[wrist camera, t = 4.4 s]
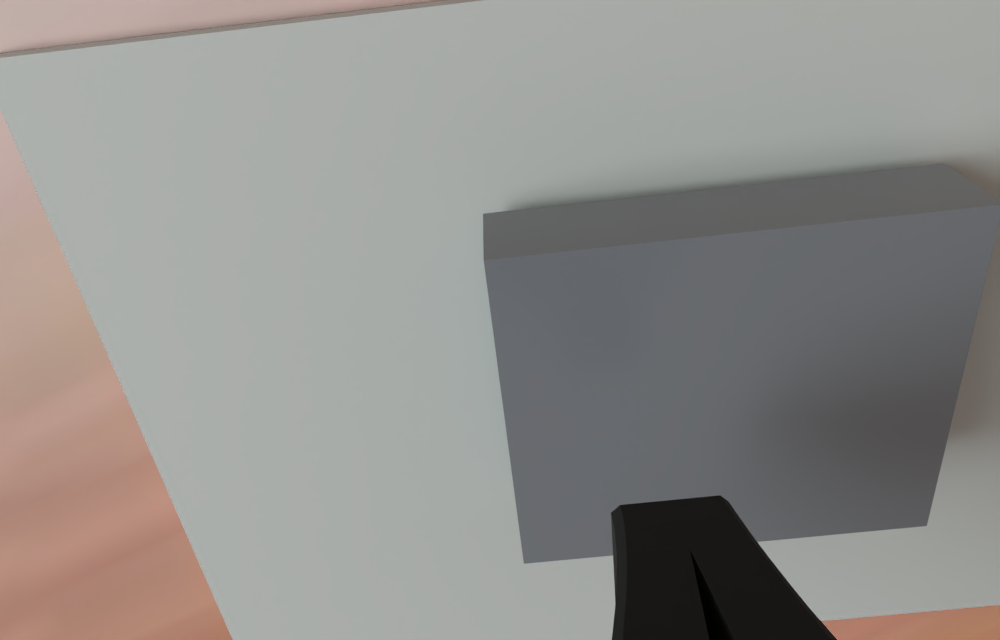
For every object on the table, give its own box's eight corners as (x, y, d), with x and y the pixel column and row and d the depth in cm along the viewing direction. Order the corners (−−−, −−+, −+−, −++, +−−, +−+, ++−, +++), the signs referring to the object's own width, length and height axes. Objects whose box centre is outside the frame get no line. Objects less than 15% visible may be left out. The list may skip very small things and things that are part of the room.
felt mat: (251, 657, 19) (247, 672, 18) (-7, 54, 12) (-21, 60, 11) (1110, 579, 18) (1122, 593, 18) (1406, -115, 11) (1436, -114, 10)
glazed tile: (523, 563, 14) (927, 526, 14) (483, 260, 11) (1003, 204, 11) (518, 484, 16) (876, 450, 15) (482, 203, 12) (930, 154, 12)
